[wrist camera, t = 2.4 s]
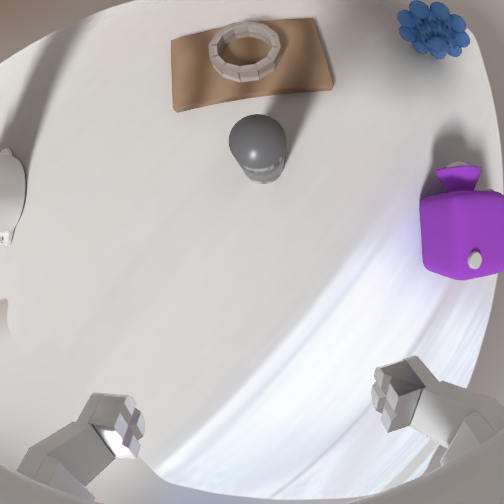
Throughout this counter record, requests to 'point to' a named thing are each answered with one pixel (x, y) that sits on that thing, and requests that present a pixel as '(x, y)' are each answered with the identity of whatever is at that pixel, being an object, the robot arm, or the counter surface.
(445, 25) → the blue lumpy cluster
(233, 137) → the grey rounded cylinder
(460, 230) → the toy camera
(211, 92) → the mount
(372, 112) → the counter surface
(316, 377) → the counter surface
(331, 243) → the counter surface
